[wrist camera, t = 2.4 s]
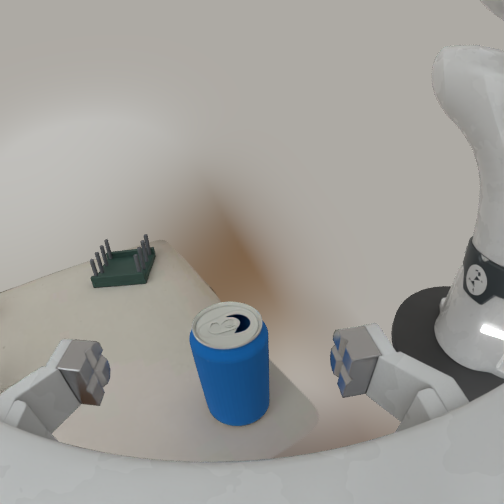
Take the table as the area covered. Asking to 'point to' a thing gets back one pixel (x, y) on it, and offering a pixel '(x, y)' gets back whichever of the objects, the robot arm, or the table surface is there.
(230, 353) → the beverage can
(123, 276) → the drying rack
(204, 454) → the table surface
